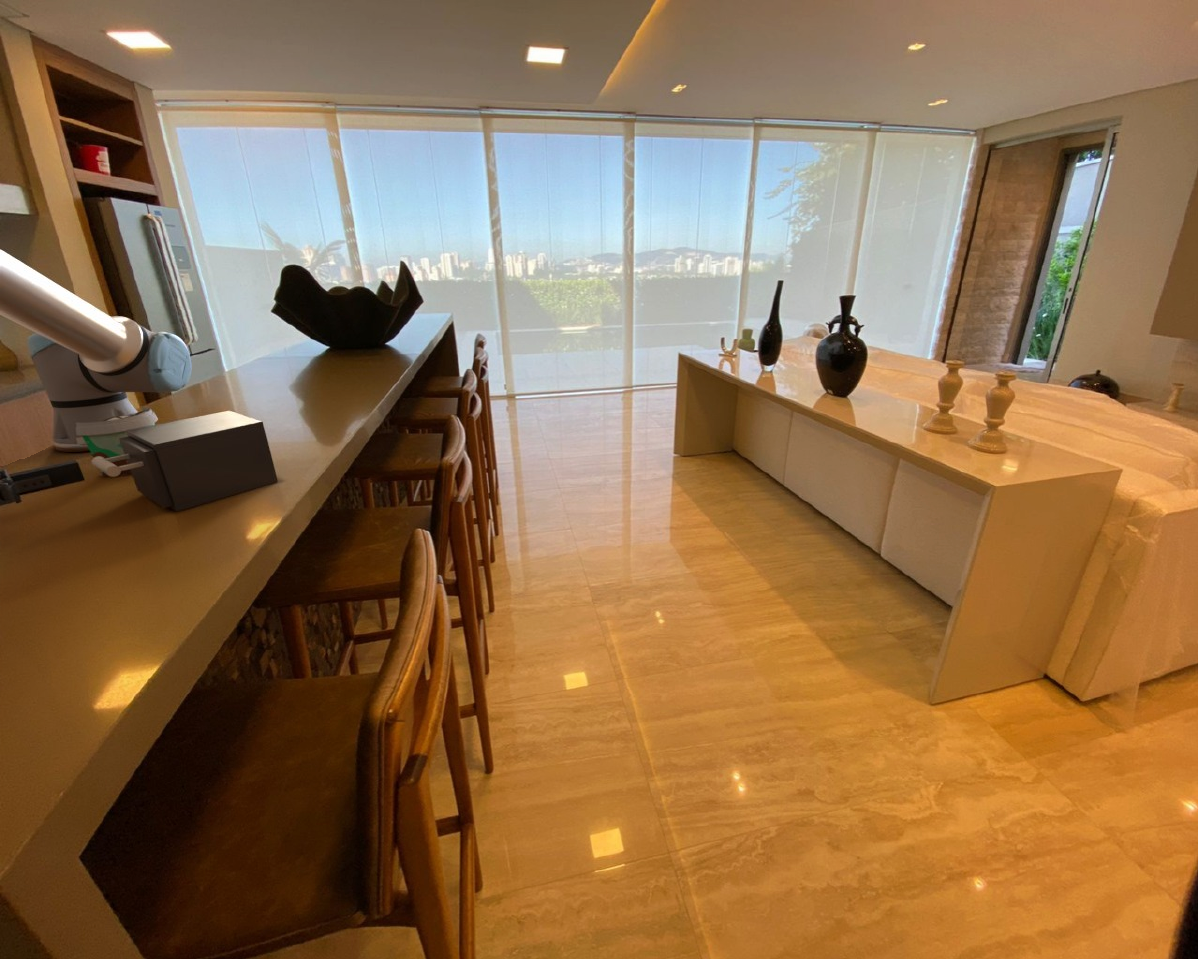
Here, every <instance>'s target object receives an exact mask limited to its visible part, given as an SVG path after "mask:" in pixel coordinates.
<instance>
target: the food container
mask: <svg viewBox="0 0 1198 959" xmlns="http://www.w3.org/2000/svg"><path fill="white" fill-rule="evenodd" d="M141 409H142V410H141V411H137V412H138V413H135V414H130V415H124V416H115V417H111V418H108V419H106V420H103V421H101V422H90V423H76V425H77V427H76V433H77V435H82V437H83V439H84V440H85V442H86V444H87V446H88V448H89V450H90V451H89V452H90V454H91V456H92V459H93V458H95V457H98V456H100V457H103V458H105V459H106V458H111V457H115V456H120V455H125V454H124V451H123V449H122V446H121V443H120V441H119V438H124V437H128V436H127V434H126V430H130V429H136V428H141V427H146V426H152V425H156V424H155V423H156V422H157V421H158V420H159V418H158V417H157V415H156V413H155V411H154V410H152V408H150V407H149V406H141ZM111 463H113V464H115V465H116V466H118V467H119V466H123V465H128V462H127V460H126V459H124V460H119V461H115V462H111ZM99 470H100V469H99ZM100 473H101V474H102V476H103V477H110V476H109V475H107V474H106V473H104V472H103V471H101V470H100ZM126 475H132V473H131V471H130V469H128V470H124V471H121V473H120V474H119V475H118V476H117V477H119V476H120V477H121V476H126Z"/></svg>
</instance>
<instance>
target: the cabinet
mask: <svg viewBox="0 0 1198 959" xmlns="http://www.w3.org/2000/svg"><path fill="white" fill-rule="evenodd" d="M126 434H127V436H128V437H130V438H132V439H134V440H136V441H138V442H140V443H142V444H143V443H144V444H146V445H147V446H149V447H151V448H153V449H154V450H155V453H156V456H157V459H158V462H159V465H160V468H161V471H162V474H163V476H164V479H165V482H166V485H167V488H168V491H169V494H170V497H171V500H172V503H173V506H170V507H169V508H171V509H172V510H173V511H175V512H177V513H178V512H181V511H185V510H187V509H192V508H194V507H198V506H201V505H204V504H208V503H211V502H214V501H217V500H221V499H225V498H228V497H231V496H233V495H238V494H241V493H244V492H248V491H251V490H255V489H258V488H262V487H264V486H265V487H266V486H267V485H271V484H275V483H277V482H279V480H278V475H277V472H276V468H275V463H274V461H273V456H272V452H271V448H270V445H269V441H268V437H267V432H266V429H265V425H264V422H263V421H262V420H259V419H256V418H254V417H250V416H247V415H245V414H244V415H243V414H241V413H237V412H234V411H231V410H226V411H221V412H216V413H215V412H214V413H210V414H204V415H200V416H194V417H190V418H183V419H179V420H174V421H168V422H163V423H158V424H155V425H152V426H146V427H141V428H136V429H130V430H126Z"/></svg>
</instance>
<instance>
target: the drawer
mask: <svg viewBox="0 0 1198 959" xmlns="http://www.w3.org/2000/svg"><path fill="white" fill-rule="evenodd" d="M119 441H120V443H121V446H122V449H123V451H124V454H125V455H120V456H115V457H111V458H106V459H105V458H103V457H100V456H98V457H95V458H93V457H92V459H91V464H92V466H93V467H95V468H97V469H98V470H101V471H103V472H104V473H106V474H107V475H109V476H108V477H112V478H114V477H115V478H116V477H119V476H118V475H119V474H120V473H121V471H124V470H128V469H130V471H131V473H132V474H131V476H132V479H133V481H134V485H135V488H136V490H137V492H138V493H140V494H142V495H143V496H145V497H146V498H147V499H149V500H151V501H153V502H154V503H156V504H157V505H158V506H160V507H161V508H163V509H166V508H170V506H173V503H172V500H171V497H170V494H169V491H168V488H167V485H166V482H165V479H164V476H163V474H162V471H161V468H160V465H159V462H158V459H157V456H156V453H155V450H154V449H153V448H151V447H149V446H147V445H146V444H144V443H143V444H142V443H140V442H138V441H136V440H134V439H132V438H130V437H124V438H119ZM124 459H126V460H127V462H128V465H123V466H119V467H118V466H116V465H115V464H113V463H111V462H115V461H119V460H124ZM101 471H100V472H101Z"/></svg>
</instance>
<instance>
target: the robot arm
mask: <svg viewBox="0 0 1198 959" xmlns="http://www.w3.org/2000/svg"><path fill="white" fill-rule="evenodd" d="M0 315H1V316H2V317H4V318H6V319H8V320H9V321H12V322H14V323H15V324H18V325H20V326H21V327H24V328H26V329H28V330H30V331H32V332H33V333H32V334H31V335H29V336H28V338H27V339H26V344H27V347H28V350H29V353H30V355H29V356H30V358H31V361H32V363H33V365H34V367H35V369H36V372H37V375H38V377H39V379H40V382H41V383H42V384H41V385H42V386H43V388H44V390H45V391H44V392H46V396H47V398H48V400H49V402H50V405H51V407H52V410H53V424H52V442H53V446H54V447H55V449H56V450H57V451H59V452H63V453H82V452H90V450H89V448H88V446H87V444H86V442H85V440H84V439H83V437H82V435H77V433H76V427H77V425H76V423H90V422H101V421H103V420H106V419H108V418H111V417H115V416H124V415H130V414H135V413H138V412H139V411H138V410H137V409H136V408H135V407H134V406H133V404H132V403H131V402H130V400H129V398H128V396H127V393H158V394H159V393H160V394H165V393H169V392H172V393H173V392H177V391H180V390H181V389H183V388H184V387H186V385H187V384H188V383H189V380H190V379H191V374H192V368H193V366H192V365H193V363H192V358H191V354H190V350H189V348H188V346H187V345H186V343H185V342H184V341H183V339H182V338H180V337H179V335H176V334H174V333H170V332H166V331H159V332H155V331H152V330H149V329H147V328H146V327H144V326H143V325H141V324H140V323H137V322H136V321H134V320H132V319H131V318H129V317H125V316H122V315H121V316H119V315H115V316H110V315H109V314H107V313H106V312H104V311H102V310H101V309H99V308H98V307H96V306H94V305H92V304H91V303H89V302H88V301H86V300H85V299H83V298H81V297H79V296H77V295H76V294H74V293H73V292H71V291H70V290H68V289H66V288H65V287H63V286H61V285H59V284H58V283H56V282H54V281H53V280H51V279H50V278H48V277H47V276H45V275H43V274H42V273H40V272H38V271H37V270H35V269H34V268H32V267H31V266H28V265H27V264H25V263H24V262H22V261H21V260H20V259H17V258H15V257H14V256H12V255H11V254H9V253H8V252H6V251H4V250H2V249H0ZM84 476H85V475H84V474H83V471H82V469H81V466H80V464H79V462H78V461H77V460H75V459H74V460H71V461H70V460H69V461H65V462H59V463H56V464H50V465H46V466H41V467H36V468H32V469H27V470H22V471H18V472H13V473H9V474H8V472H7V470H6V469H5V468H0V507H2V506H5V505H10V504H13V503H15V504H17V505H18V504H20V503H22V502H23V500H22V497H21V496H24V495H29V494H34V493H37V492H41V491H46V490H50V489H55V488H59V487H63V486H67V485H71V484H75V483H80V482H84V481H86V479H85V477H84Z"/></svg>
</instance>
